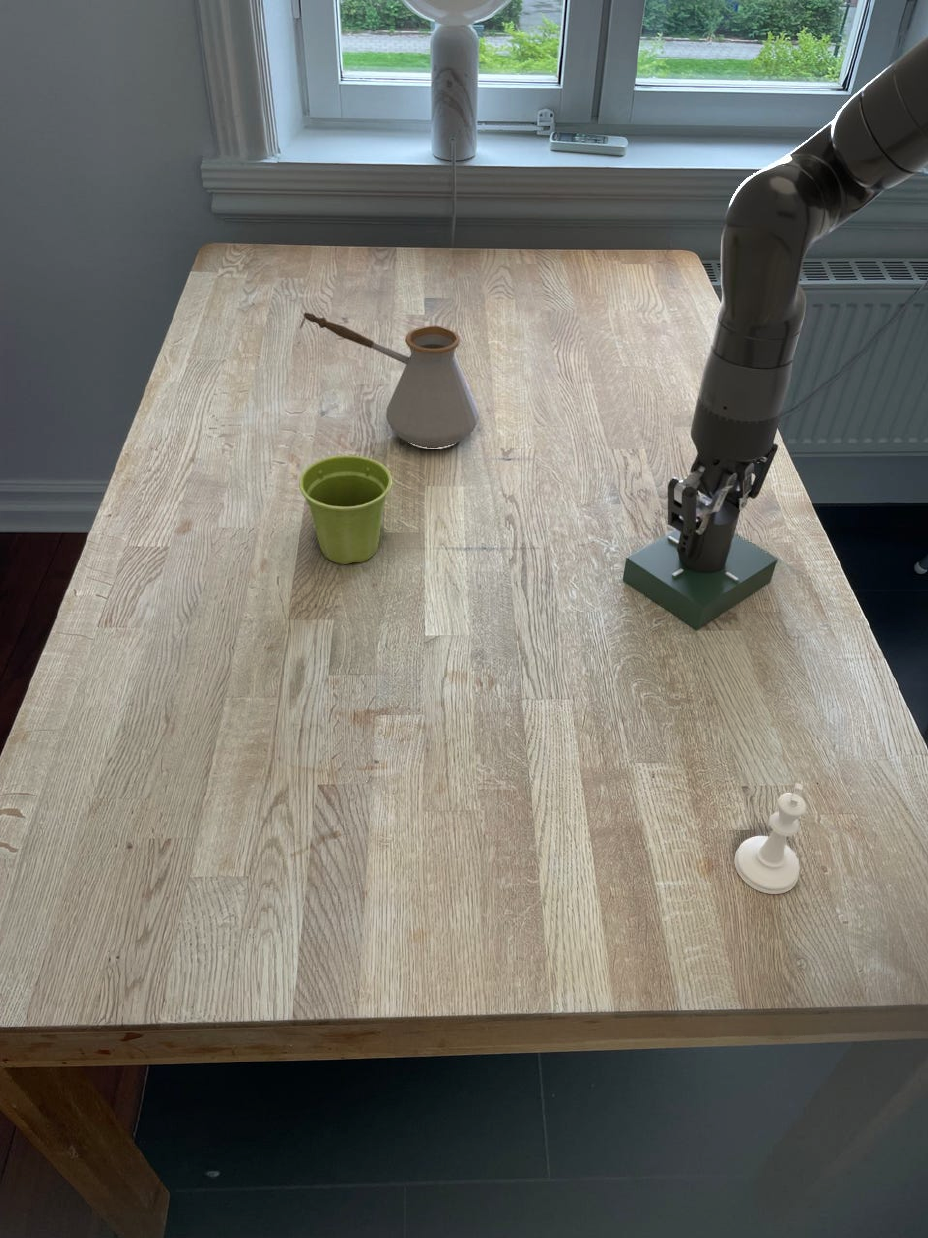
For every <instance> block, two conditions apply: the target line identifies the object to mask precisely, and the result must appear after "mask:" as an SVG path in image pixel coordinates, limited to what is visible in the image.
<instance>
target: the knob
mask: <svg viewBox="0 0 928 1238" xmlns="http://www.w3.org/2000/svg"><path fill="white" fill-rule="evenodd" d="M701 497H702V498H704V499H706V500H707V501H709V502H712V499H711V498H709V497H707V496H701ZM701 513H702V512H701V510H700V509H698V508H697V507H696V519H698V520H699V518H700V516H701ZM737 519H738V520H739V518H738V510H737V508H736V507H735V506H734V505H733V504H732V503H730V502H728V501H726V500H724V501H723V503H722V505H721V507H720V510H719V512H718V513H715V514H712V516H711V518H710V520H709V522H708V525H707V527H706V529H705V535H704V539H703V543H702V547H701V551H700V556H699V559H697V560H696V561H694V562H690V561H688V560H686V559H685V558H683V557H682V556H680V555H679V559H680V561H681V562H682V563H683V564H684V565H685V566H686V567H688V568H689V569H692V570H694V571H697V572H703V573H712V572H716V571H719V570H721V569H722V568H723V567H724V566H725V564H726V560H727V557H728V553H729V549H730V545H731V542H732V538H733V534H735V533H734V530H735V531H736V529H735V526H736V527H737V525H736V523H737V524H738V522H737Z"/></svg>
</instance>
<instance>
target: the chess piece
mask: <svg viewBox="0 0 928 1238" xmlns="http://www.w3.org/2000/svg"><path fill="white" fill-rule="evenodd" d="M803 786H804V785H803V784H801V783H799V782H795V785H794V787H793V791H792V792H785V793H782V794H781V795H780V796H779V797H778V799H777V810H778V811H776V812H774V813H772V814H771V815H770V817H769V820H768V822H769V826H770V828H771V829H772V831H771V832H770V834H769V836H766V835H756V836H755V835H754V836H751V837H749V838H747V839H745V840H744V841H742V842H741V844H740V845H739V847H738V848H737V850H736V852H735V854H734V859H733V860H734V867H735V870H736V872H737V874H738V876H739V877H740V879H742V880H743V882H744V883H745V884H746V885H748V887H750V888H752V889H753V890H756V891H758V892H761V893H764V894H767V895H768V894H769V895H779V894H784V893H787V892H788V891H790V890H792V889H793V888H794V887H795V886H796V885H797V883H798V881H799V877H800V872H801V866H800V861H799V859H798V856H797V855H796V854H795V851H793V849H791V848H790V846H788V844H787V839H788V837H793V836H795V835H797V833H798V832H799V829H800V825H799V821H798V819H799V818H800V817H802V816H803V815H804V814H805V813H806V811H807V803H806V802H805V800H804V799H803V798H802V797H801V793H802V791H803Z"/></svg>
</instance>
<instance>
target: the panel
mask: <svg viewBox="0 0 928 1238" xmlns="http://www.w3.org/2000/svg"><path fill="white" fill-rule="evenodd" d="M680 533H681V532H680V531H678V530H677V529H674V530H672V531H670V532H668V533H667V534H666V535H663V536H661V537H660V538H658V539H656V540H655V541H653V542H651V543H649V544H647V545H646V546H644V547H642V548H640V549H638V550H637V551H635V552H633V553H632V554H630V555H628V556H627V557H626V558H625V562H624V563H625V564H624V567H623V573H622V574H623V575H622V581H623V582H625V583H627V584H628V585H629V586H631V587H632V588H634V589H635V590H636V591H638V592H639V593H640V594H643V595H644V596H646V597H647V598H648V599H650V600H651V601H652V602H654V603H656V604H657V605H659V606H660V607H662V608H663V609H665V610H666V611H667V612H669V613H671V614H672V615H673V616H675V617H676V618H678V619H679V620H680V621H682V622H683V623H685V624H687V625H688V626H690V627H691V628H692V629H695V631H698V630H700V629H702V628H703V627H705V626H706V625H707V624H709V623H710V622H712V621H713V620H716V619H717V618H719V617H720V616H721V615H723V614H724V613H726V612H727V611H729V610H730V609H732V608H733V607H735V606H736V605H738V604H739V603H741V602H742V601H744V600H745V599H748V597H750V596H752V595H753V594H754V593H756V592H758V591H759V590H761V589H762V588H763V587H765V586H767V585H768V584H770V583H771V582H772V578H773V575H774V573H775V569H776V566H777V562H778V559H777V558H775V557H774V556H772V555H770V554H769V553H767V552H765V551H763V550H762V549H760V548H758V547H756V546H755V545H754V544H753V543H750V542H749V541H746V540H745V539H743V538H742V537H740V536H738V535H737V534H736V533H734V537H733V538H732V542H731V545H730V549H729V553H728V557H727V560H726V564H725V566H724V567H723V568H722V569H721V570H719V571H716V572H712V573H703V572H697V571H694V570H692V569H689V568H688V567H686V566H685V565H684V564H683V563H682V562H681V561H680V559H679V554H678V553H677V547H678V543H679V538H680Z"/></svg>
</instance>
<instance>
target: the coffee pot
mask: <svg viewBox="0 0 928 1238" xmlns="http://www.w3.org/2000/svg"><path fill="white" fill-rule="evenodd" d="M306 320H307V321H309V322H310V323H315V324H317V325H318V326H319V328H320V329H324V328H325V329H326V330H329V331H330V332H332V333H333V334H335V335H337V336H338V337H341V338H343V339H345V340H348V341H351V342H353V343H356V344H358V345H361V346H363V347H366V348H369V349H373V350H375V351H377V352H379V353H381V354H383V355H385V356H388V357H389V358H392V359H394V360H396V361H398V362H400V363H402V364H405V367H404V369H403V371H402V373H401V376H400V379H399V380H398V383H397V384H396V387H395V389H394V392H393V394H392V396H391V398H390V401H389V403H388V405H387V408H386V413H385V417H386V421H387V423H388V425H389V426H390V429H391V430H392V432H394V433H395V434H396V435H397V436H398V437H399V438H400V439H402V440H403V441H405V442H406V441H407V442H409V443H412V444H415V445H418V446H422V447H427V448H438V447H444V446H448V445H452V444H455V443H457V442H459V441H460V442H461V441H463V440H464V439H466V438H467V437H468V436H469V435H470V434H471V433H472V432H473V431H474V430H475V428H476V426H477V424H478V422H479V419H480V412H479V411H480V410H479V407H478V405H477V403H476V400H475V398H474V396H473V394H472V391H471V388H470V386H469V384H468V382H467V379H466V378H465V376H464V375H465V374H464V373H463V371H462V369H461V366H460V364H459V362H458V359H457V357H456V354H455V353H456V349H457V348H458V347H459V345H460V343H461V336H460V335H459V333H457V332H456V331H455V330H453V329H450V328H449V327H445V326H441V325H439V324H431V325H425V326H420V327H417V328H414V329H411V330H410V331H409V332H407V334H406V336H405V337H404V338H405V340H404V342H405V344H406V345H407V347H408V348H409V351H410V356H409V355H406V354H404V353H401V352H399V351H396V350H394V349H392V348H389V347H387V346H384V345H382V344H380V343H378V342H375V341H374V340H372V339H371V338H368V337H366V336H364V335H362V334H360V333H358V332H356V331H354V330H353V329H351V328H349V327H347V326H344V325H343V324H338V323H334V322H331V321H328V320H327V318H326V317H318V316H317V315H316V314H313V313H310V312H306V311H305V312H304V313H303V318H302V321H301V323H300V327H299V330H302V328H303V326H304V324H305V323H306V322H305V321H306ZM407 442H406V443H407ZM460 442H459V443H460Z"/></svg>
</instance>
